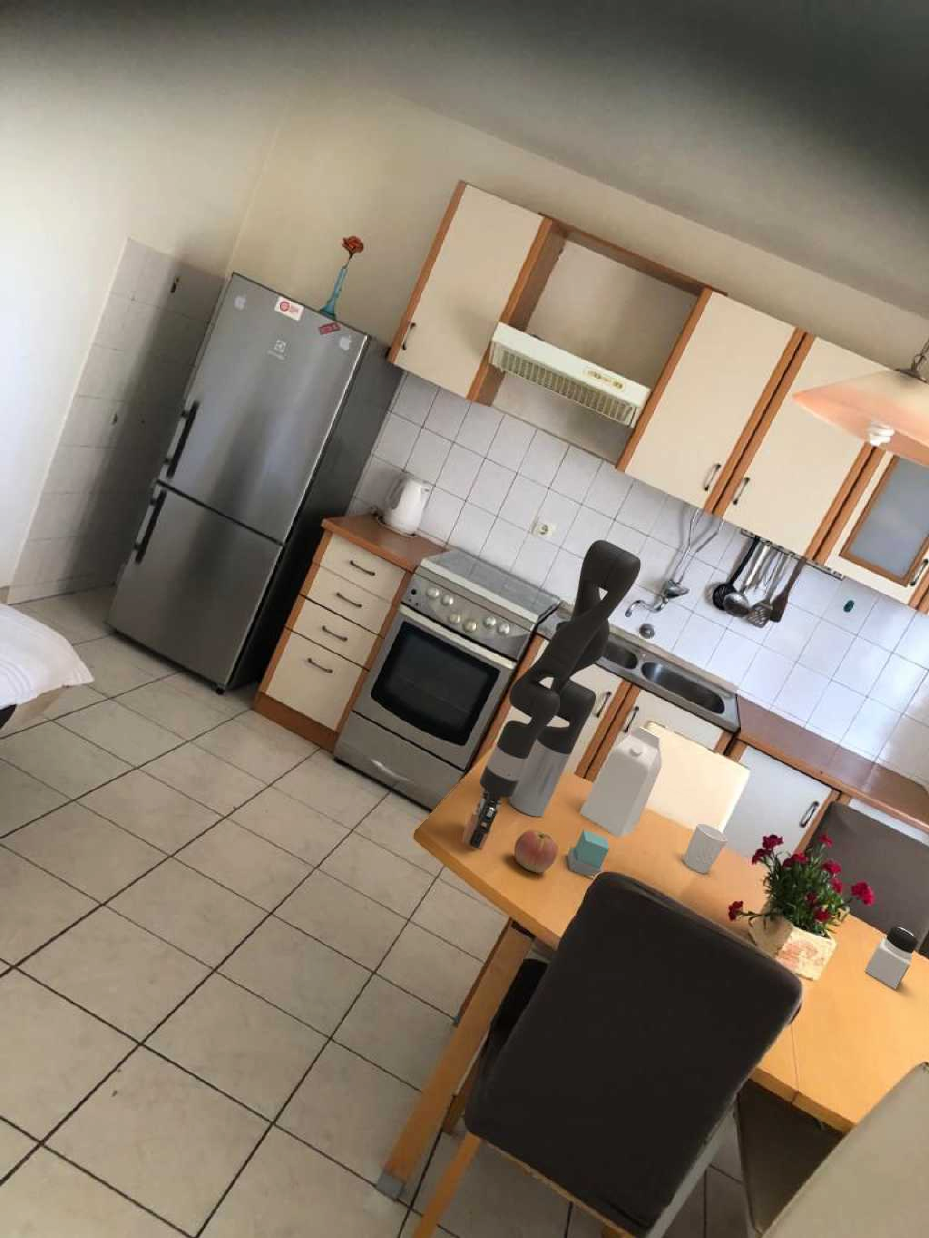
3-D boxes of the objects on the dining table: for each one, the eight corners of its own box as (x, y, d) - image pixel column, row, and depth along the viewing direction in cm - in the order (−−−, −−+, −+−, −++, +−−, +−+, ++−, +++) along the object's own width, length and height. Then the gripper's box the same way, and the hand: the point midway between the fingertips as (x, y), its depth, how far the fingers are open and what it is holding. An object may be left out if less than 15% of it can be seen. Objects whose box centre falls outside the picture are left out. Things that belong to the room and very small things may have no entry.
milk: (635, 829, 248) (677, 741, 243) (619, 837, 238) (663, 746, 233) (596, 805, 254) (636, 718, 248) (579, 812, 244) (620, 722, 238)
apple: (545, 884, 198) (560, 851, 196) (506, 865, 199) (521, 832, 197) (549, 867, 206) (564, 835, 205) (511, 849, 207) (526, 817, 205)
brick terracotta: (463, 833, 206) (471, 813, 205) (482, 840, 206) (491, 820, 205) (462, 842, 201) (470, 821, 200) (481, 850, 201) (491, 829, 200)
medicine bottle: (895, 990, 216) (920, 946, 213) (864, 972, 219) (889, 928, 217) (898, 980, 222) (922, 937, 220) (868, 962, 225) (892, 919, 223)
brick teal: (574, 848, 214) (583, 829, 213) (597, 857, 215) (606, 838, 214) (576, 859, 209) (585, 840, 208) (599, 868, 209) (609, 849, 208)
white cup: (712, 869, 243) (729, 835, 241) (707, 878, 235) (725, 844, 233) (683, 853, 245) (700, 820, 243) (677, 862, 238) (695, 828, 236)
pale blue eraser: (566, 855, 216) (571, 845, 215) (595, 866, 216) (600, 857, 215) (569, 869, 209) (573, 859, 208) (598, 881, 209) (603, 871, 209)
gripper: (521, 789, 193) (489, 860, 196) (519, 764, 207) (490, 830, 210) (486, 775, 193) (455, 846, 196) (487, 751, 207) (458, 818, 210)
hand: (473, 838), depth 203 cm, fingers open, 6 cm apart
